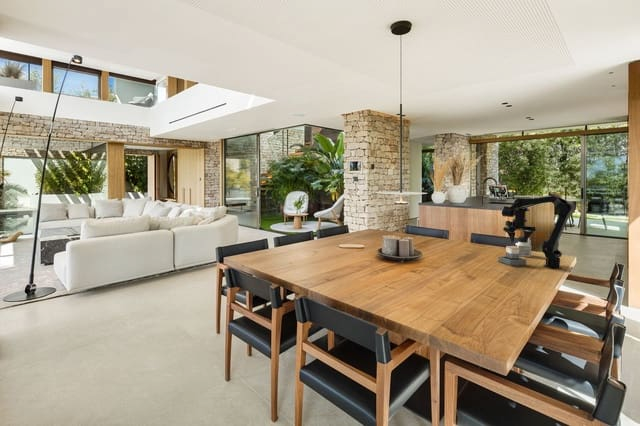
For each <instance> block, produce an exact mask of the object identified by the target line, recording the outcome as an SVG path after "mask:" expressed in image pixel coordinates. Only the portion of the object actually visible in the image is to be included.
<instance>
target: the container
mask: <svg viewBox="0 0 640 426" xmlns="http://www.w3.org/2000/svg"><path fill="white" fill-rule="evenodd" d="M515 247H517V248H519V257H525V258H526V257H527V258H531V257H532V245H531V244H530V237H529V238H528V240H527V241H526V242H524V235H520V236H518V239H517V242H515Z"/></svg>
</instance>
